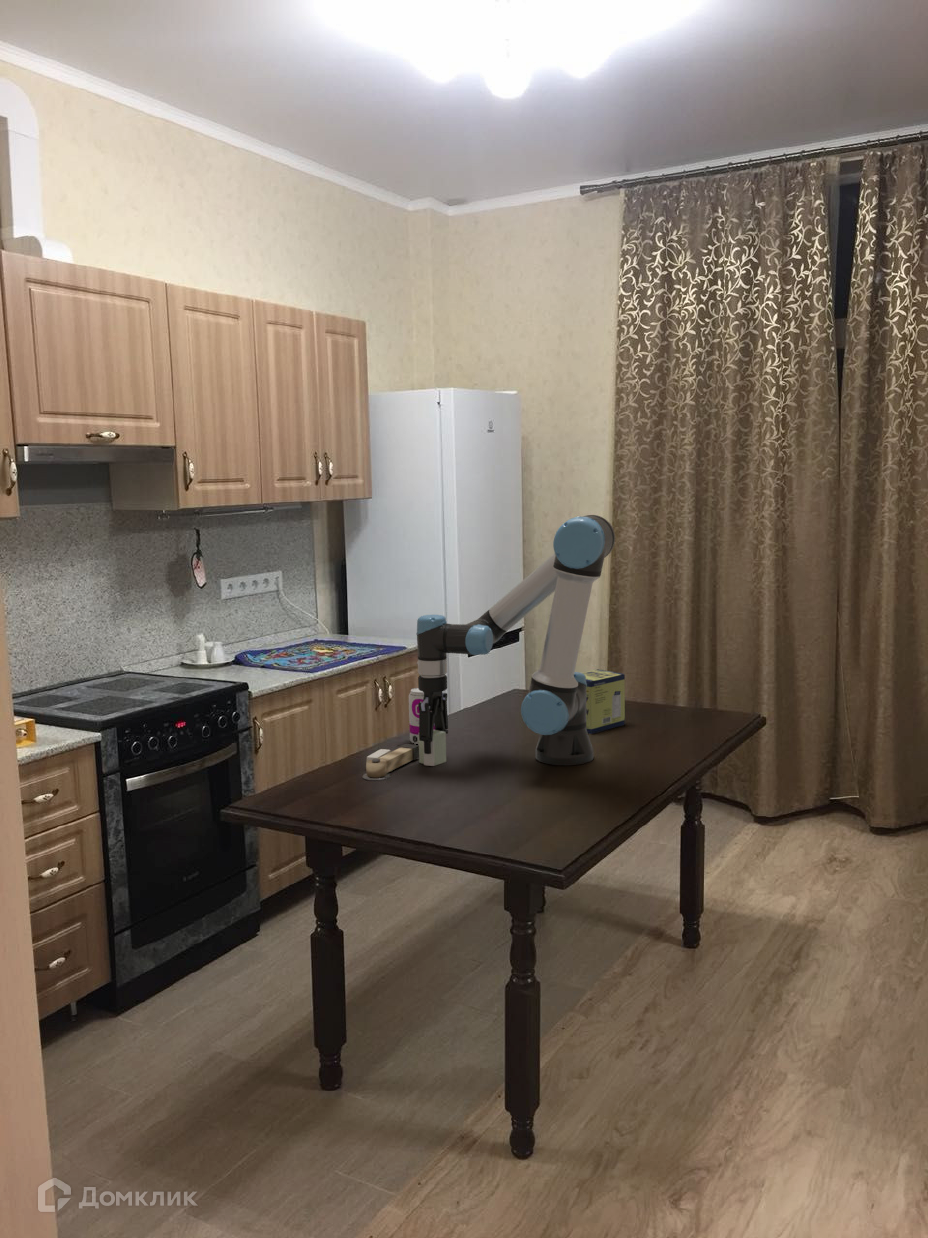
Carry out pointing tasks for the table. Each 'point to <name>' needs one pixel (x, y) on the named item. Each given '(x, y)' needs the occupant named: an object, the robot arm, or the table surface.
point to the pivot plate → (376, 777)
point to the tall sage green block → (435, 747)
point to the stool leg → (392, 760)
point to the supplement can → (415, 714)
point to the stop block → (378, 754)
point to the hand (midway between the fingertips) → (434, 761)
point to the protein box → (604, 700)
